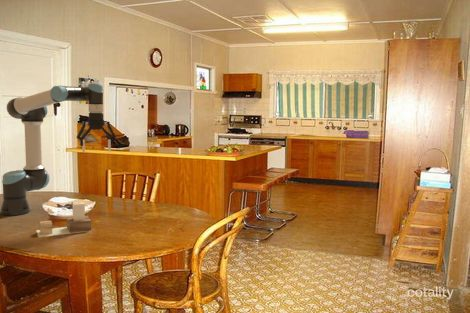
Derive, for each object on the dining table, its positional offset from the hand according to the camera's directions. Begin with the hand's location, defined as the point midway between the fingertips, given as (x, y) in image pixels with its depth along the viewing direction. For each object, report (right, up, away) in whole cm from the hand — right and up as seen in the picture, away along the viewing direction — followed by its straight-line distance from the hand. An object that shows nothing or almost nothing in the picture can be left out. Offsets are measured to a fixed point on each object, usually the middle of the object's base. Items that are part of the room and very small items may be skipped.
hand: (96, 151), depth 234 cm
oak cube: (-16, -39, -27) cm, 50 cm away
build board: (-9, -40, -23) cm, 47 cm away
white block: (-2, -34, -21) cm, 40 cm away
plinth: (-2, -39, -20) cm, 44 cm away
